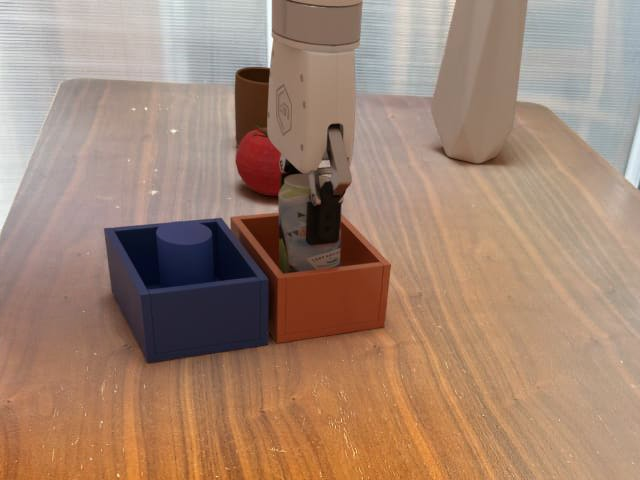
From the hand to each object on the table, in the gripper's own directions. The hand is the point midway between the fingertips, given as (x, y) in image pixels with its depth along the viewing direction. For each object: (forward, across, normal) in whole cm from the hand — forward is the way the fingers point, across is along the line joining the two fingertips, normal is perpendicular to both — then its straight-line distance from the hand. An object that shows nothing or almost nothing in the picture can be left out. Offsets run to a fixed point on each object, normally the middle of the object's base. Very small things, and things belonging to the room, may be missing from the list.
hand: (308, 226), depth 86 cm
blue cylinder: (+7, 0, -12) cm, 14 cm away
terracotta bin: (+8, 0, 0) cm, 8 cm away
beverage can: (+7, 0, 0) cm, 7 cm away
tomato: (+8, -28, +7) cm, 30 cm away
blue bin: (+8, 0, -12) cm, 15 cm away
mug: (+8, -41, +13) cm, 44 cm away
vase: (+8, -35, +40) cm, 53 cm away
